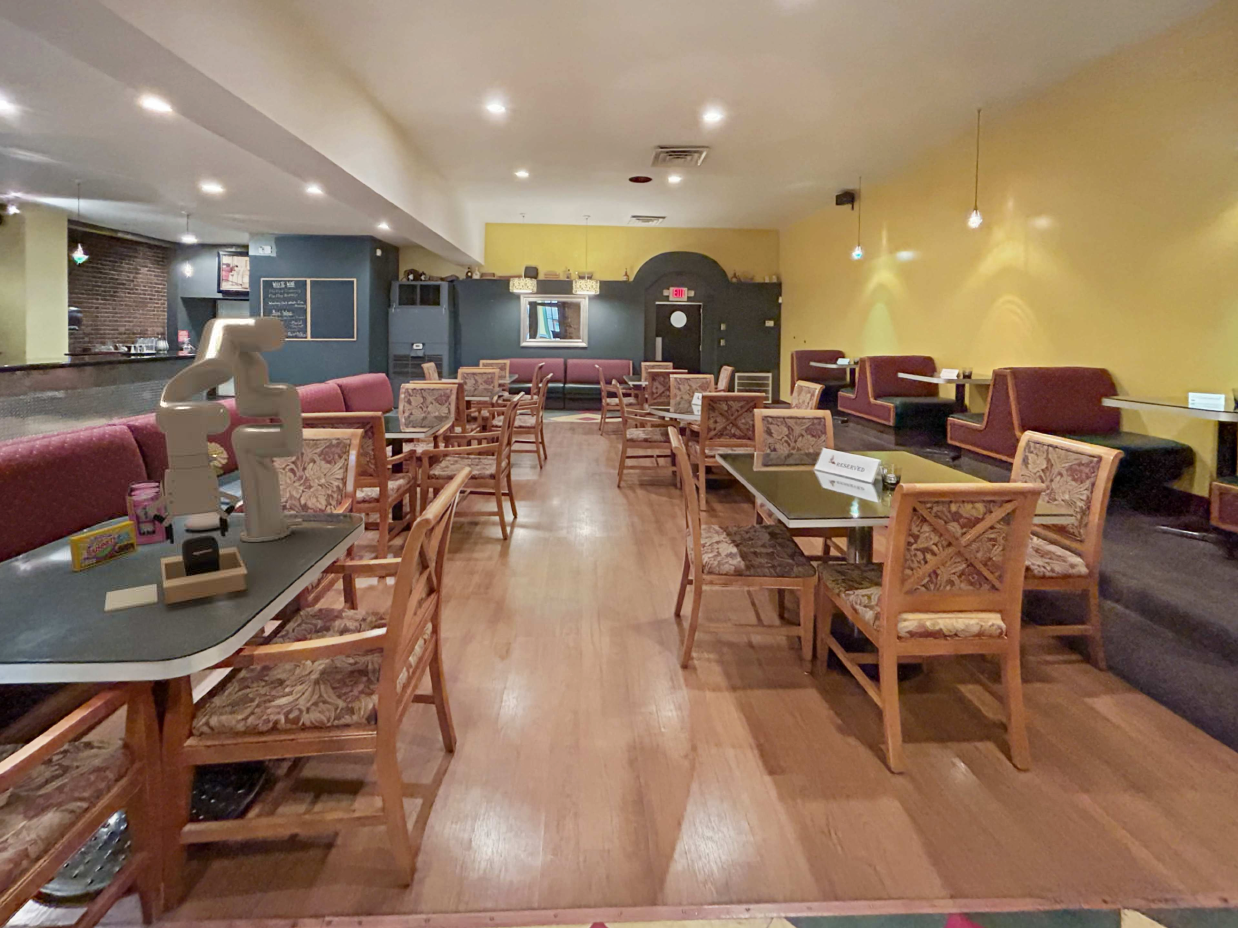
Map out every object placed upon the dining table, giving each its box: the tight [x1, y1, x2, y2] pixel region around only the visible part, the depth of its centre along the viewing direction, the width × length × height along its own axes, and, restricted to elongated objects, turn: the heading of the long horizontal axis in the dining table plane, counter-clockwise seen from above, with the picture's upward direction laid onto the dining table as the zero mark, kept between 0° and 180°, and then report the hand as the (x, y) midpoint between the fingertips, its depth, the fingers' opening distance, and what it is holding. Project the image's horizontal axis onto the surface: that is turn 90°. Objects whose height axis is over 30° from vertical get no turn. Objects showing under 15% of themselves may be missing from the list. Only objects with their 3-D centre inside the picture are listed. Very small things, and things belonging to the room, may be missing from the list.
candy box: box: [68, 520, 138, 572], centre depth 172 cm, size 16×2×8 cm, turn 168°
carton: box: [160, 546, 249, 605], centre depth 153 cm, size 15×22×5 cm
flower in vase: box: [183, 441, 230, 531], centre depth 200 cm, size 13×11×25 cm
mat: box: [103, 583, 159, 613], centre depth 147 cm, size 9×12×1 cm
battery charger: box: [180, 534, 220, 577], centre depth 153 cm, size 7×4×11 cm, turn 132°
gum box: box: [125, 479, 168, 546], centre depth 194 cm, size 24×8×14 cm, turn 32°
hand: (198, 538), depth 151 cm, fingers open, 9 cm apart
